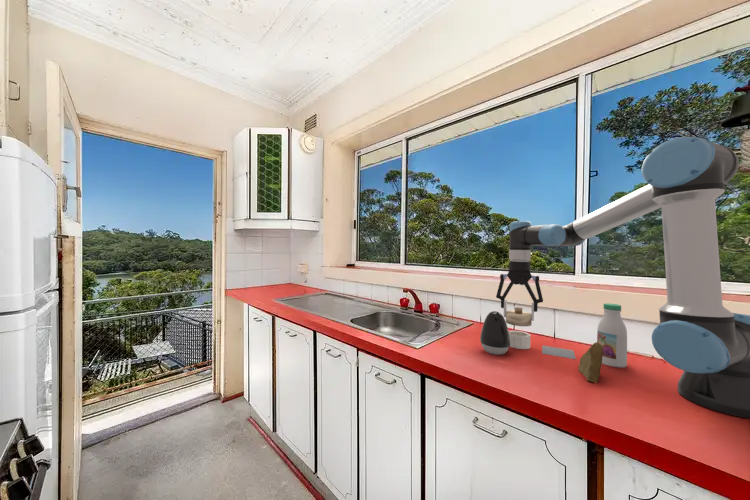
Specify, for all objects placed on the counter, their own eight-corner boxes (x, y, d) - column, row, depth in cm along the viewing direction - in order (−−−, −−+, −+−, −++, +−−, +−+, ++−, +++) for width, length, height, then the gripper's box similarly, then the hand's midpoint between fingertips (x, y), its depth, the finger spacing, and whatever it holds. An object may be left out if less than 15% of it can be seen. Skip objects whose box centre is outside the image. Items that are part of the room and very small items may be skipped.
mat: (575, 360, 97) (575, 359, 97) (542, 354, 102) (542, 353, 102) (573, 351, 106) (573, 350, 106) (542, 346, 111) (542, 345, 111)
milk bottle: (615, 359, 98) (616, 302, 98) (633, 369, 90) (634, 307, 90) (591, 358, 99) (592, 301, 99) (607, 368, 91) (608, 306, 91)
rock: (608, 380, 77) (621, 367, 83) (585, 351, 81) (599, 340, 87) (573, 390, 85) (587, 377, 91) (554, 362, 89) (568, 352, 94)
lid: (531, 327, 105) (531, 311, 105) (504, 324, 109) (504, 308, 109) (531, 322, 112) (532, 307, 112) (507, 319, 117) (507, 304, 117)
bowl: (529, 351, 105) (529, 338, 105) (506, 347, 109) (506, 334, 109) (530, 345, 112) (530, 332, 112) (508, 341, 116) (508, 329, 116)
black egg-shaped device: (482, 356, 100) (482, 313, 100) (478, 346, 110) (479, 307, 110) (513, 359, 98) (513, 315, 98) (506, 348, 108) (507, 309, 108)
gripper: (551, 261, 108) (550, 320, 108) (491, 259, 119) (490, 312, 120) (552, 262, 102) (551, 324, 102) (488, 260, 113) (487, 316, 113)
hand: (518, 318), depth 111 cm, fingers closed on lid, 9 cm apart
